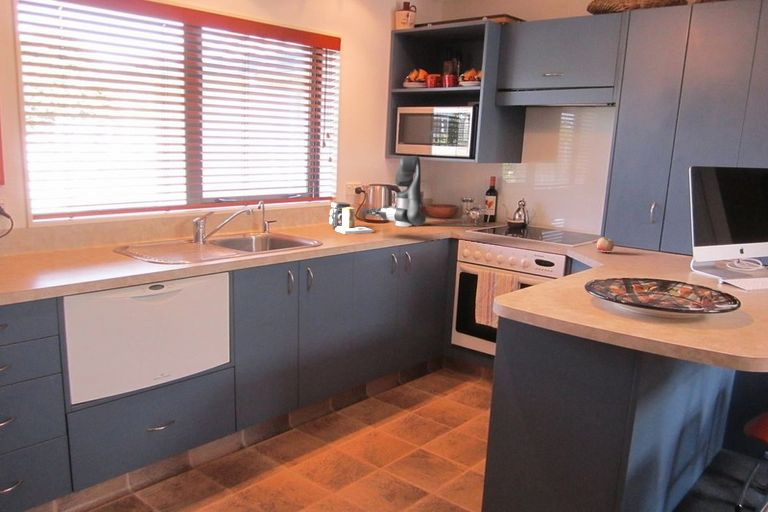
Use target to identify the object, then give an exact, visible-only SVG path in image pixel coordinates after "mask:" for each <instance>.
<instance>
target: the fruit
mask: <svg viewBox="0 0 768 512" xmlns="http://www.w3.org/2000/svg"><path fill="white" fill-rule="evenodd" d="M596 248H597V250H603V251H611V252H612V251H613V249H614V248H615V243H614V240H613V239H610V238H608V237H607V236H602V237H600V238H599V239H598V240H597V241H596Z"/></svg>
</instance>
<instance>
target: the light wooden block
mask: <svg viewBox="0 0 768 512" xmlns="http://www.w3.org/2000/svg"><path fill="white" fill-rule="evenodd" d="M355 220H356V208H355V207H351V206H350V207H346V208H342V228H344V229H351V228H354V227H356V226H355Z"/></svg>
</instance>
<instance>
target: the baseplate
mask: <svg viewBox="0 0 768 512" xmlns="http://www.w3.org/2000/svg"><path fill="white" fill-rule="evenodd" d="M334 229H335V232H338V233H341V234H343V235H348V234H349V235H351V234H369V233H370V234H372V233H374V229H371V228H367V227H365V226H354V228H351V229H344V228H342V226H339V227H337V228H334Z"/></svg>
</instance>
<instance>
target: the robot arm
mask: <svg viewBox="0 0 768 512" xmlns="http://www.w3.org/2000/svg"><path fill="white" fill-rule="evenodd" d="M398 165H399V166H398V169H397V172H396V174H395V176H394V177H395V178H394V181H395V185H396V186H398V187H404V188H405V187H406V189H404V190H402V191H399V192H396V205H395V206H392V205H383V206H381V207H371V209H369V208H362V209H361V212H362V213H363V214H365V215H367V216H368V215H369V216H377V217H378V216H380V218H381V219H382V220H385V221H392V222H395V226H396V227H405V228H406V227H412V225H413V226H417V227H418V226H423V225H424V224H425V223H426V221H427V220H426V219H427V218H426V215H425V214H424V213H423V212H422V211H420V208H421V207H422V206H423V203H422V202H423V201H422V191H421V183H422V178H421V177H422V176H421V175H422V174H421V160H420V157H419V156H418V155H410V156H409V155H408V156H406V155H405V156H402V157H401V158H400V159H399V164H398Z"/></svg>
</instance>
